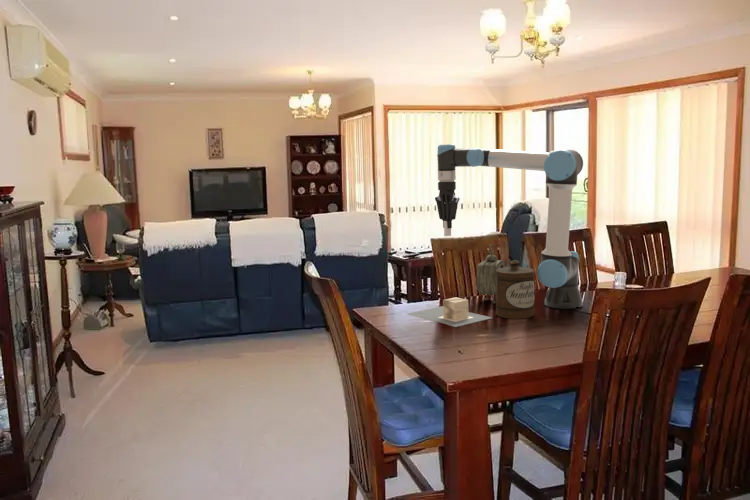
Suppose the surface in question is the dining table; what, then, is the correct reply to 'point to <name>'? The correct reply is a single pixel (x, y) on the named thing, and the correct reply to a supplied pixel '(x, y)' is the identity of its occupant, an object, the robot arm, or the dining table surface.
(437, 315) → the mat
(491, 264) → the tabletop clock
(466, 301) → the birch cube
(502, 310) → the wooden container
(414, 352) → the dining table surface
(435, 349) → the dining table surface
